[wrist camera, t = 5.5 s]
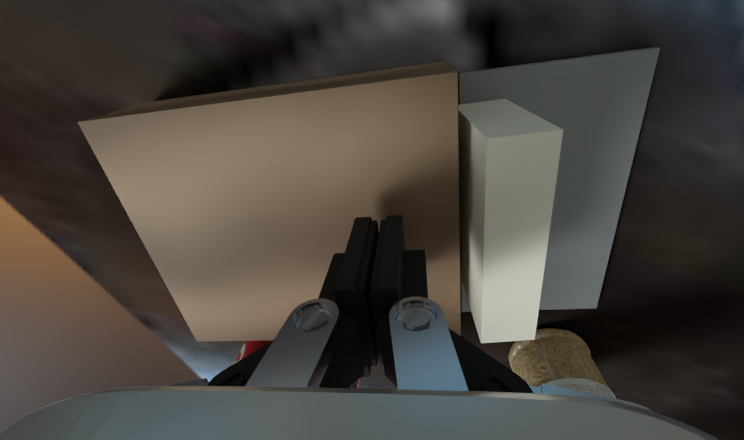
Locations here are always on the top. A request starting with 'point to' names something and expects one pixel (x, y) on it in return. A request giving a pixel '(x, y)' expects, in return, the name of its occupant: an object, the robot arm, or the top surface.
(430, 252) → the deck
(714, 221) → the top surface
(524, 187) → the tile
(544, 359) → the sprinkles bottle
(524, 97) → the mat
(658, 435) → the robot arm
